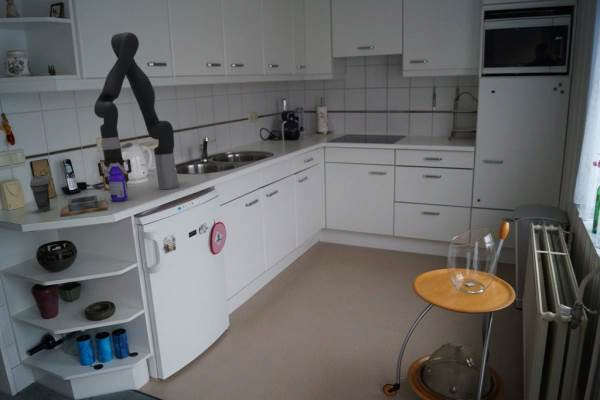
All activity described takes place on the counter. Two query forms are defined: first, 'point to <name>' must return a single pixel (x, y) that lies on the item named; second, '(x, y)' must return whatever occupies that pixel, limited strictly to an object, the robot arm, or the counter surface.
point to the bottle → (117, 184)
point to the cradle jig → (83, 206)
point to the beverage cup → (41, 192)
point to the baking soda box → (108, 175)
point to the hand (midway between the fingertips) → (117, 183)
